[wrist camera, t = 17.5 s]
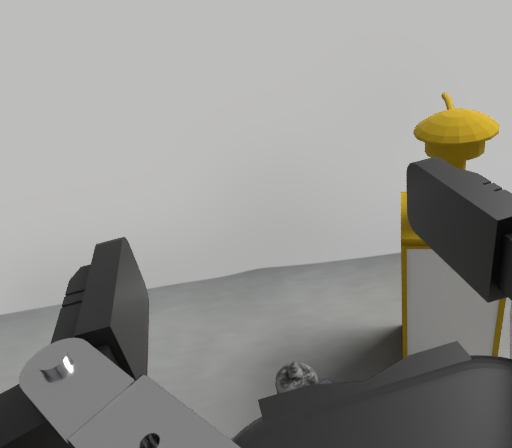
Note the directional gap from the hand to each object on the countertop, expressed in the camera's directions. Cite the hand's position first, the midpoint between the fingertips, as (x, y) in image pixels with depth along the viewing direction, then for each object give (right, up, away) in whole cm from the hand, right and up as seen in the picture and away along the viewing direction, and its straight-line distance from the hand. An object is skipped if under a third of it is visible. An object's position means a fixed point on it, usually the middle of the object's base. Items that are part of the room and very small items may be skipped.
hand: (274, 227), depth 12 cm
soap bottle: (+18, -11, +31) cm, 38 cm away
